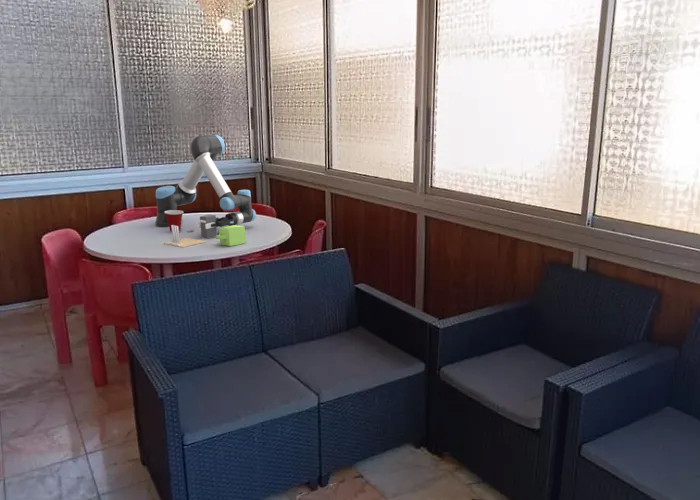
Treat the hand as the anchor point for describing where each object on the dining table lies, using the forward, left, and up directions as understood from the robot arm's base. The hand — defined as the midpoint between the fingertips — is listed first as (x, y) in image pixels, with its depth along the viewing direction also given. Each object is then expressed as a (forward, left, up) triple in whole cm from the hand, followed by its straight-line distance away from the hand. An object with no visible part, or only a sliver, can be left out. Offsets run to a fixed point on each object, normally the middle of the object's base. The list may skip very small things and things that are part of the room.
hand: (202, 225), depth 325 cm
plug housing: (0, +4, -7) cm, 8 cm away
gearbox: (+23, +1, -7) cm, 24 cm away
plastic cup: (-29, +4, -7) cm, 30 cm away
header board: (0, -13, -7) cm, 15 cm away
